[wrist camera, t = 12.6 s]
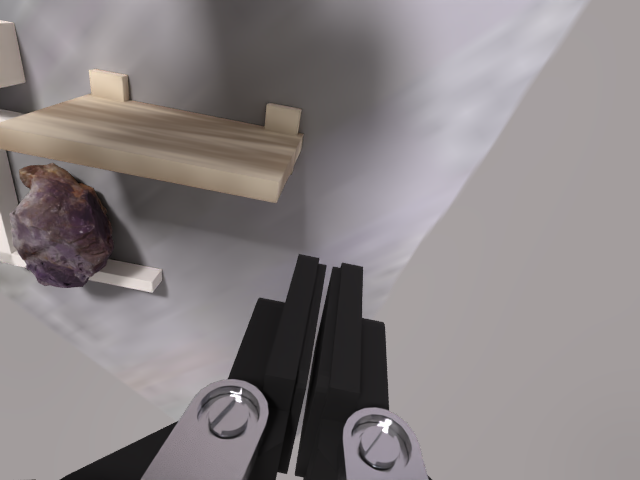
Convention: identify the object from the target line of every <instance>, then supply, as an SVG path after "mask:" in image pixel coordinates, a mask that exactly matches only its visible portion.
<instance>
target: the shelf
mask: <svg viewBox="0 0 640 480" xmlns="http://www.w3.org/2000/svg"><path fill="white" fill-rule="evenodd" d="M89 76H90V85H91V94H87V95H84V96H81V97H78V98H75V99H72V100H68V101H65V102H62V103H59V104H56V105H53V106H50V107H46V108H43V109H40V110H37V111H34V112H31V113H27V114H24V115H21V116H18V117H15V118H12V119H8V120H5V121H2V122H0V149H3V150H8V151H13V152H18V153H23V154H28V155H34V156H39V157H44V158H49V159H54V160H59V161H64V162H69V163H74V164H79V165H84V166H90V167H95V168H100V169H105V170H110V171H115V172H120V173H125V174H130V175H135V176H140V177H146V178H151V179H156V180H161V181H166V182H171V183H176V184H181V185H186V186H191V187H196V188H202V189H207V190H212V191H217V192H222V193H227V194H232V195H237V196H242V197H247V198H252V199H258V200H263V201H268V202H273V203H277V201H278V199H279V197H280V194H281V192H282V190H283V188H284V186H285V184H286V182H287V180H288V177H289V175H291V174H292V172H293V167H294V165H295V163H296V160H297V158H298V156H299V154H300V152H301V148H302V142H303V135H304V134H301V133H298V132H299V124H300V117H301V110H302V109H299V108H294V107H289V106H284V105H279V104H274V103H268V104H267V106H266V116H265V126H260V125H255V124H250V123H245V122H240V121H235V120H230V119H224V118H219V117H214V116H209V115H204V114H199V113H194V112H188V111H183V110H178V109H173V108H168V107H163V106H158V105H153V104H147V103H142V102H137V101H132V100H129V85H128V75H124V74H119V73H114V72H109V71H104V70H99V69H92V70H89Z"/></svg>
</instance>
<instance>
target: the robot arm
mask: <svg viewBox="0 0 640 480" xmlns="http://www.w3.org/2000/svg"><path fill="white" fill-rule="evenodd" d="M318 263H319V258H316V257H311V256H306V255H301V254H299V256H298V260H297V263H296V267H295V270H294V274H293V277H292V281H291V284H290V288H289V291H288V295H287V299H286V302H285V303H284V302H279V301H274V300H269V299H264V298H259V299H258V301H257V303H256V306H255V309H254V311H253V314H252V317H251V319H250V322H249V324H248V327H247V330H246V332H245V335H244V338H243V340H242V343H241V346H240V348H239V351H238V354H237V356H236V359H235V361H234V364H233V367H232V369H231V372H230V375H229V377H228V379H227V380H220V381H217V382H214V383H211V384H209V385H208V386H206V387H204V388H203V389H201V390H200V391H199V392H198V394H197V395H196V396H195V397H194V398H193V399H192V401H191V403H190V404H189V406H188V407H187V409H186V410H185V412H184V413H183V415H182V416H181V418H180V420H179V421H177V422H175V423H173V424H171V425H169V426H167V427H165V428H163V429H161V430H159V431H157V432H155V433H153V434H150V435H148V436H146V437H144V438H142V439H140V440H138V441H136V442H134V443H132V444H130V445H128V446H126V447H124V448H122V449H120V450H118V451H116V452H114V453H112V454H110V455H108V456H105V457H103V458H101V459H99V460H97V461H95V462H93V463H91V464H89V465H87V466H85V467H83V468H81V469H79V470H77V471H75V472H73V473H71V474H69V475H67V476H65V477H63V478H62V479H60V480H276V475H277V472H280V473H284V474H287V471H288V467H289V462H290V458H291V454H292V449H293V444H294V440H295V435H296V431H297V426H298V422H299V417H300V413H301V408H302V404H303V399H304V395H305V390H306V385H307V380H308V375H309V369H310V363H311V357H312V351H313V345H314V339H315V332H316V326H317V320H318V314H319V308H320V302H321V296H322V290H323V284H324V278H325V272H326V265H323V264H318ZM362 288H363V267H361V266H356V265H351V264H346V263H342V265H341V268H338V267H333V268H332V273H331V277H330V282H329V286H328V291H327V295H326V300H325V304H324V309H323V313H322V318H321V322H320V327H319V331H318V336H317V340H316V345H315V351H314V356H313V363H312V369H311V375H310V381H309V388H308V394H307V400H306V407H305V413H304V419H303V425H302V432H301V438H300V444H299V451H298V457H297V463H296V470H295V476H300V477H304V479H303V480H432V479H431V478H430V477H429V476H428V475H427V471H426V468H425V464H424V460H423V456H422V453H421V449H420V445H419V442H418V440H417V437H416V435H415V433H414V431H413V430H412V429H411V427H410V426H409V425H408V424H407V423H406V422H405V421H404V420H403V419H402V418H400V417H399V416H398V415H396V414H394V413H392V412H390V411H389V401H388V379H387V361H386V360H387V359H386V338H385V324H384V323H383V322H379V321H374V320H369V319H364V318H362ZM34 480H36V479H34Z"/></svg>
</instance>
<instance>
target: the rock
mask: <svg viewBox="0 0 640 480" xmlns="http://www.w3.org/2000/svg"><path fill="white" fill-rule="evenodd" d="M19 174H20V179H21V181H22V182H23V184H24V185H25V186H26V187H28V188H30V191H29V193H28V194H27V195H26V196H25V198H24V199H23V200H22V201H21V202H20V204H19V205H18V206H17V207H16V208H15V209H14V210H13V211H12V212H10V214H9V215H10V222H11V225H12V227H13V228H12V229H11V233H12V243H13V246H14V247H15V248H16V249H17V252H18V254H19V255H20V257H21V258H22V260H24V261H25V263H26V264H27V265H26V268H27V270H31V271H32V272H33V274H34V275H35V276H36V278H37V281H38V282H39V283H40V284H42V285H45V286H48V285H51V286H56V287H61V288H71V287H83V286H84V285H85V284H86V282H87V281H88V279H89V278H90V277H92V276H93V275H94V274H95V273H97V272H99V271H100V270H101V269H102V268H104V267H105V266H106V263H107V260H108V258H109V256H110V255H111V254H112V251H113V249H114V242H113V239H112V236H111V235H112V232H113V231H112V227H111V222H110V221H109V219H108V217H107V216H106V215H105V214H106V213H107V210H106V208H105V207H104V206H102V204H101V201H100V199H99V198H98V196H97V194H96V192H95V190H94V188H92V187H90V186H87V185H84V184H82V183H78V182H77V181H76V180H75V179H74V178H73V177H72V175H71V174H69V173H68V171H66V170H65V169H63V168H60V167H58V166H57V165H55V164H54V163H51V164H48V165H31V166H27V167H24V168H22V169H20V170H19Z"/></svg>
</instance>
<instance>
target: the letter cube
mask: <svg viewBox="0 0 640 480" xmlns="http://www.w3.org/2000/svg"><path fill="white" fill-rule="evenodd" d="M21 83H26V81H25V76H24V71H23V66H22V61H21V56H20V51H19V46H18V41H17V36H16V31H15V26H14V23H12V22H7V21H1V20H0V88H3V87H8V86H12V85H17V84H21Z"/></svg>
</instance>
